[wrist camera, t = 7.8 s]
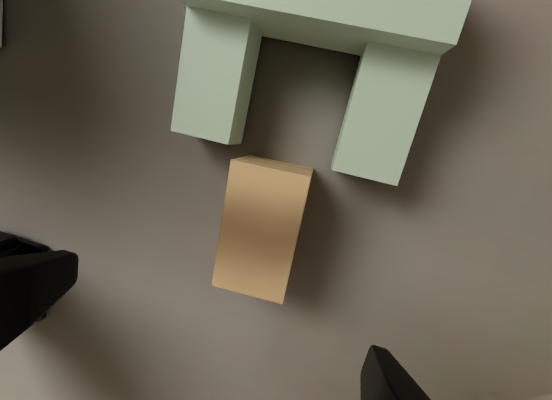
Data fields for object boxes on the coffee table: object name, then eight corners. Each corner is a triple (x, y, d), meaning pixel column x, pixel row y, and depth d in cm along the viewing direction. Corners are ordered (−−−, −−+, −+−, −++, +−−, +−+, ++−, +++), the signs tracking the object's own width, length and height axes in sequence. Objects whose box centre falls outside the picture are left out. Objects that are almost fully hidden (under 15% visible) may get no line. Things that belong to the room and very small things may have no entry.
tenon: (290, 270, 19) (282, 304, 15) (233, 256, 20) (211, 285, 16) (313, 168, 18) (310, 176, 14) (250, 154, 18) (230, 159, 14)
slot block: (386, 179, 17) (405, 192, 13) (191, 131, 18) (154, 130, 14) (450, -19, 14) (498, -77, 10) (219, -58, 15) (184, -123, 12)
